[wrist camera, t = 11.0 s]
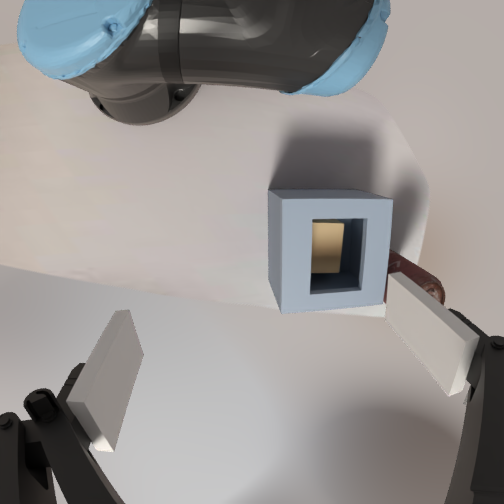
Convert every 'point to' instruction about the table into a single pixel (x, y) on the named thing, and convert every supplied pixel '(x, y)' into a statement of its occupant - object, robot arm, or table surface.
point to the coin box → (352, 254)
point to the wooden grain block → (326, 245)
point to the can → (414, 276)
